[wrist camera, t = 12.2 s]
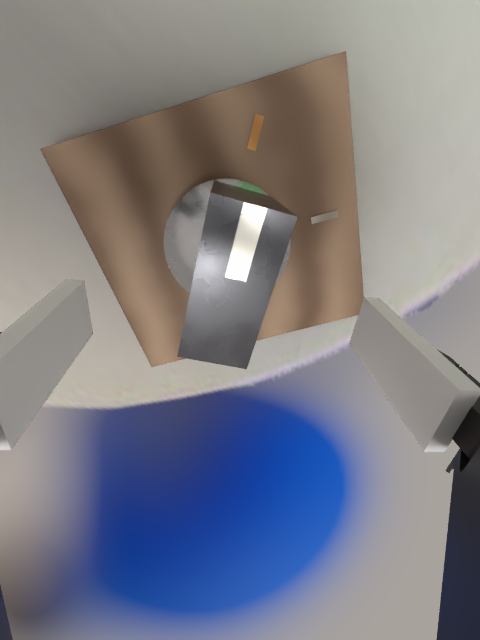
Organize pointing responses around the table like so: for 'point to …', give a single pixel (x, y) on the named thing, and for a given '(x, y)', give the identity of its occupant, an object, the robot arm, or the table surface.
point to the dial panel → (213, 163)
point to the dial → (226, 265)
